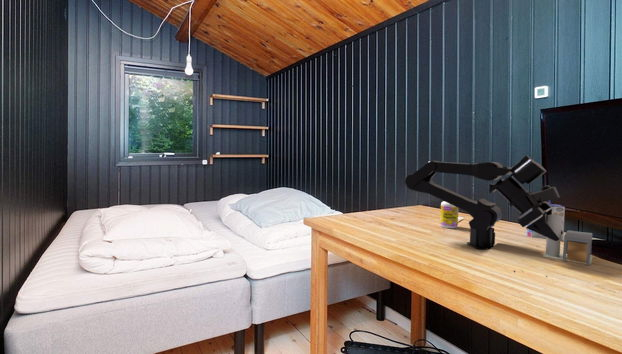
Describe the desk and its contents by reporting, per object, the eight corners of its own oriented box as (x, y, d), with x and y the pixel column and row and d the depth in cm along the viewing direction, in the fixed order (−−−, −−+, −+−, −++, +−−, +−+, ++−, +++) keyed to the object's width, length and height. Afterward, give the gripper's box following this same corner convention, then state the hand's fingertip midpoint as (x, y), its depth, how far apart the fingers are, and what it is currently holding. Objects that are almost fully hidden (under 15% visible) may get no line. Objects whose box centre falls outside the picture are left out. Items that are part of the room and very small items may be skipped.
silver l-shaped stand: (542, 259, 91) (545, 216, 90) (546, 254, 95) (548, 213, 95) (590, 268, 84) (593, 221, 83) (591, 262, 88) (594, 218, 88)
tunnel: (562, 265, 87) (564, 236, 86) (566, 257, 94) (567, 230, 93) (588, 270, 83) (590, 239, 83) (590, 261, 90) (592, 233, 89)
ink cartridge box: (555, 238, 116) (558, 197, 115) (564, 242, 110) (567, 199, 109) (525, 236, 118) (527, 197, 117) (532, 240, 112) (534, 199, 111)
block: (566, 259, 88) (568, 241, 88) (568, 256, 91) (569, 238, 91) (586, 262, 85) (587, 244, 85) (587, 259, 88) (588, 241, 88)
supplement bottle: (440, 227, 131) (441, 196, 130) (440, 224, 137) (441, 194, 136) (458, 229, 129) (459, 197, 128) (457, 226, 135) (458, 195, 134)
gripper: (534, 178, 86) (585, 225, 80) (544, 175, 100) (589, 215, 93) (499, 204, 92) (544, 250, 85) (514, 198, 106) (554, 237, 99)
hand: (559, 237), depth 91 cm, fingers open, 9 cm apart
